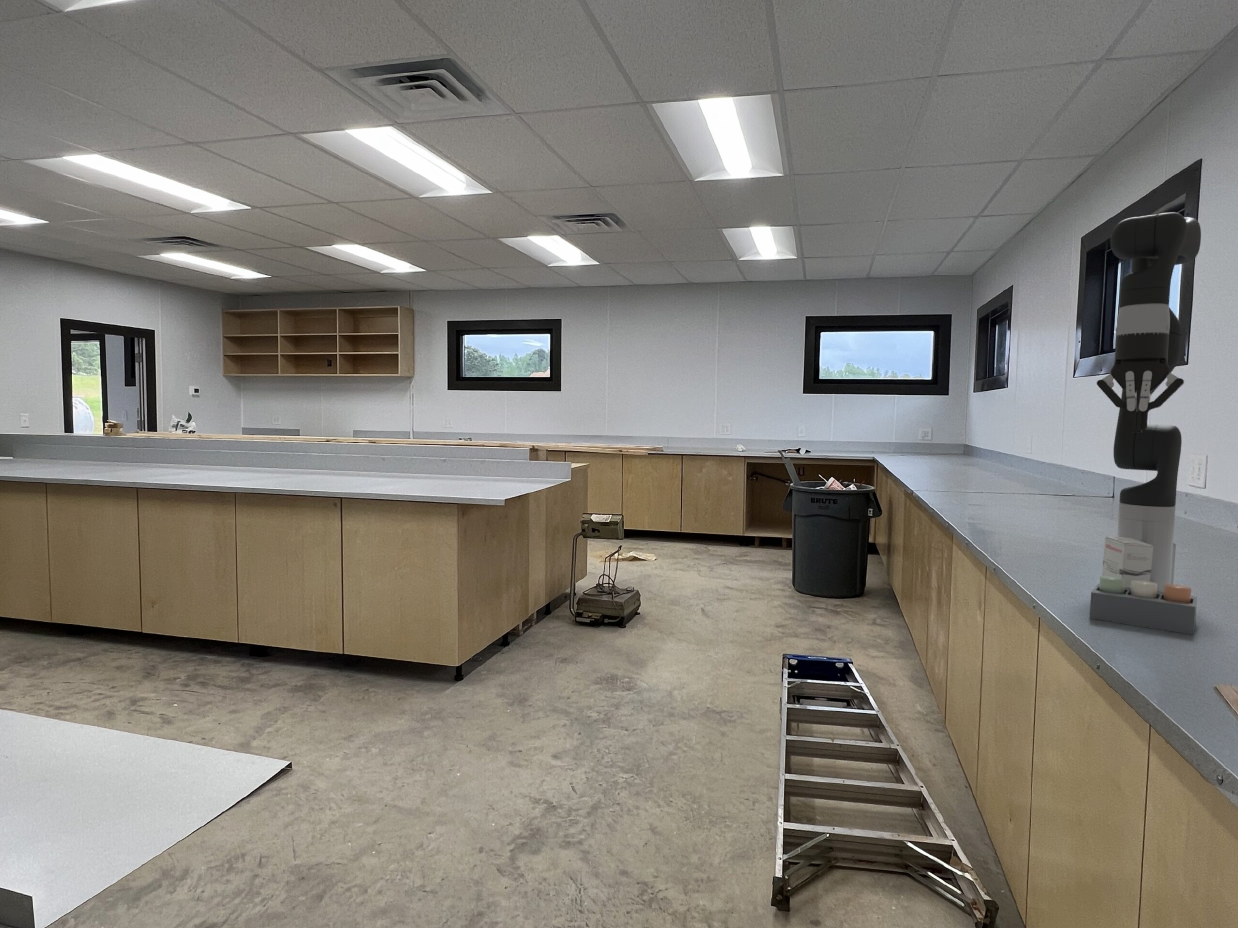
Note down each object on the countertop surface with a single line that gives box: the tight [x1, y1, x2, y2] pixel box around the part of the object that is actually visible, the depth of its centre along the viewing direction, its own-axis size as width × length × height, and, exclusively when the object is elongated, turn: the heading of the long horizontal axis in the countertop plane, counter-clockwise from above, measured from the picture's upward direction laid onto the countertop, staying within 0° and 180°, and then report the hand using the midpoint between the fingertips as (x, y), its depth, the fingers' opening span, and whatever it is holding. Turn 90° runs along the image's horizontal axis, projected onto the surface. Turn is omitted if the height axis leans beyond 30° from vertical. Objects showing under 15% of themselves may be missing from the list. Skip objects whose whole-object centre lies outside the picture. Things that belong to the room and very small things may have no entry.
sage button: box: [1099, 575, 1125, 594], centre depth 127 cm, size 4×4×3 cm
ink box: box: [1101, 535, 1153, 588], centre depth 137 cm, size 9×5×12 cm, turn 168°
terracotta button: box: [1163, 584, 1192, 603], centre depth 121 cm, size 4×4×3 cm
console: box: [1089, 583, 1198, 635], centre depth 125 cm, size 9×14×4 cm, turn 50°
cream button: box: [1130, 580, 1157, 598], centre depth 124 cm, size 4×4×3 cm
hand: (1136, 432), depth 128 cm, fingers closed
